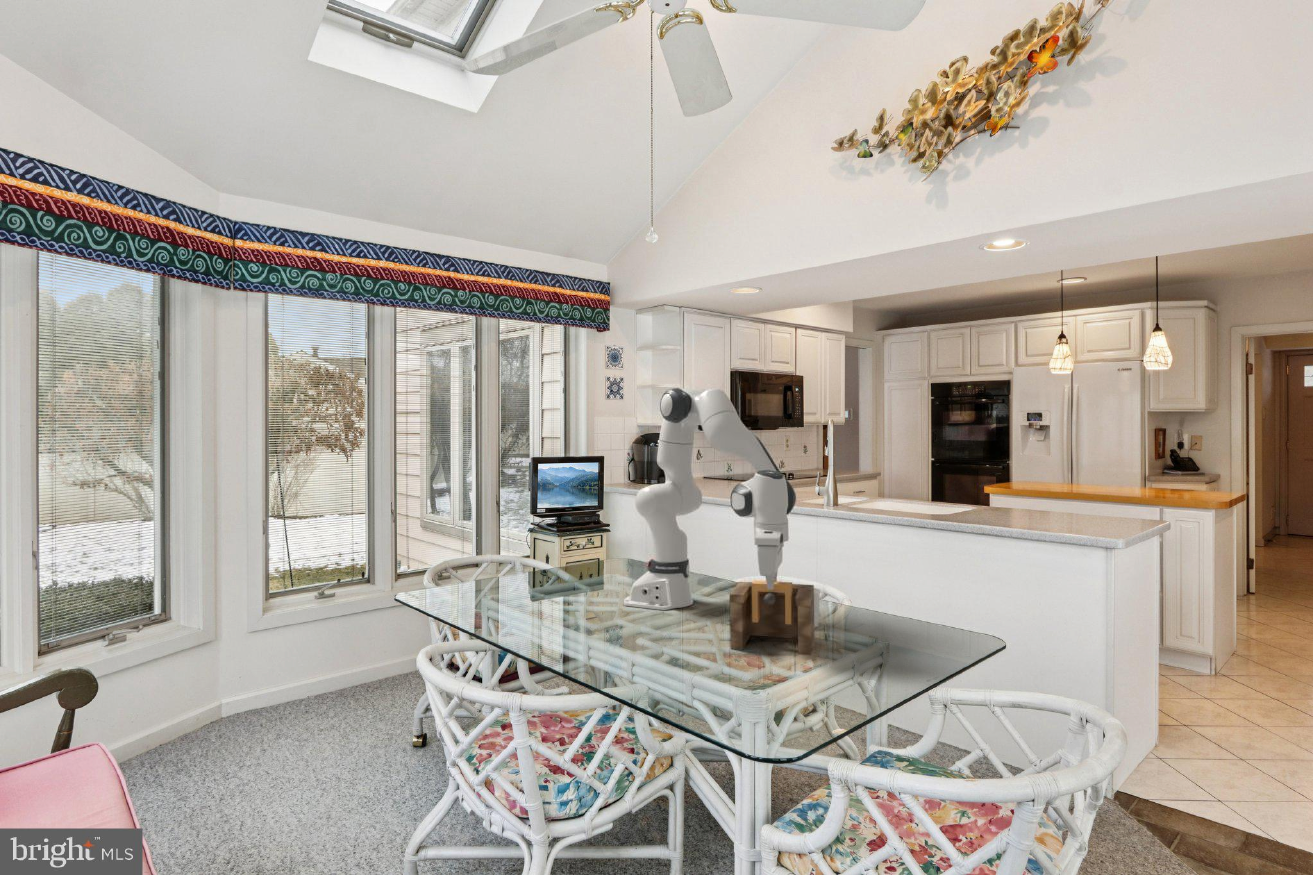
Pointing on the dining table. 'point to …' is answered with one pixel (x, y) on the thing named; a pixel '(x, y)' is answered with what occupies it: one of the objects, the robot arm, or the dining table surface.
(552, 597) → the dining table surface
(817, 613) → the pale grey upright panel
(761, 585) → the wooden arch block
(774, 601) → the notched shelf
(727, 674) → the dining table surface
